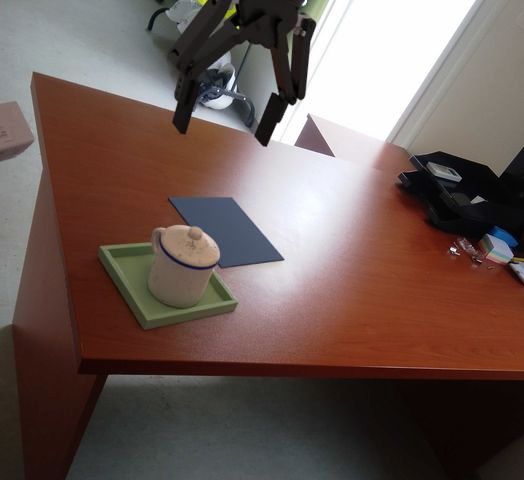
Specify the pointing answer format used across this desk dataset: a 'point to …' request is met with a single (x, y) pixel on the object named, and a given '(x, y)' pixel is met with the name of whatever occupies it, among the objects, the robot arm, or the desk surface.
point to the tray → (140, 297)
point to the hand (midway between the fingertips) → (222, 135)
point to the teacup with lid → (181, 264)
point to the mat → (227, 229)
